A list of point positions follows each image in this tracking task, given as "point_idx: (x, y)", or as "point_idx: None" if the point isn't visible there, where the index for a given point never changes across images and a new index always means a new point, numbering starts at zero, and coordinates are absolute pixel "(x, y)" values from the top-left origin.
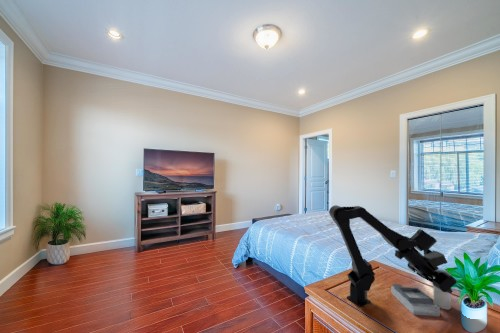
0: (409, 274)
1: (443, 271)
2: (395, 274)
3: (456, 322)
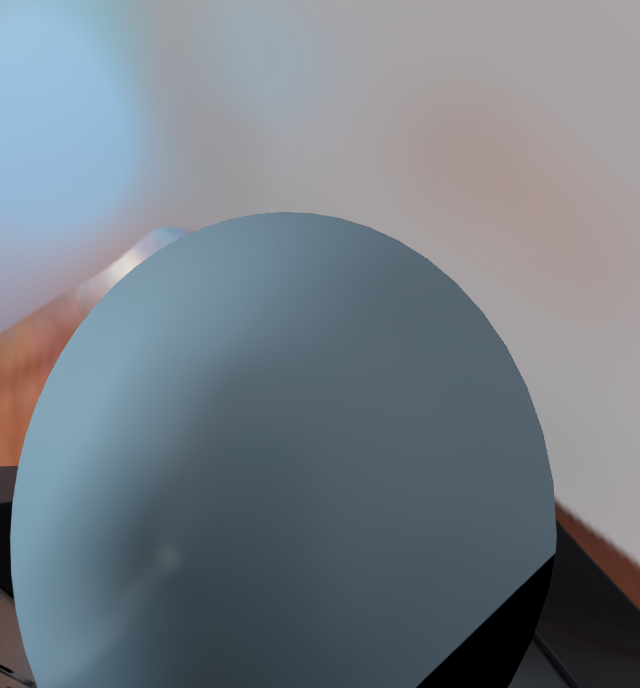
0: (48, 312)
1: (272, 415)
2: (19, 405)
3: (587, 534)
